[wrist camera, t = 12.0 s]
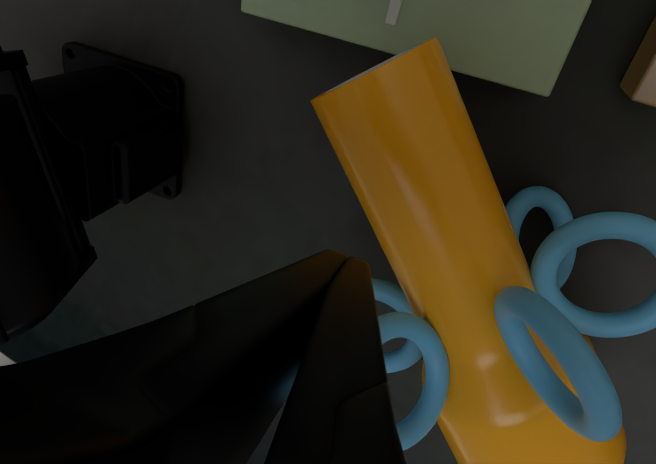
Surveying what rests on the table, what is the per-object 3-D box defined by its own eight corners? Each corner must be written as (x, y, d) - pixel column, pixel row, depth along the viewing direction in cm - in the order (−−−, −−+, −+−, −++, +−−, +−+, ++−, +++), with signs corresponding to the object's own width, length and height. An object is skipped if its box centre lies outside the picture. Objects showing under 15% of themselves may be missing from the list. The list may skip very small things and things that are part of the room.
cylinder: (690, 330, 19) (580, -42, 15) (829, 615, 11) (662, -68, 7) (414, 372, 25) (281, 111, 21) (360, 577, 17) (116, 203, 12)
